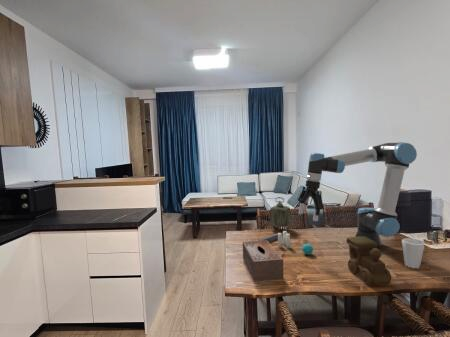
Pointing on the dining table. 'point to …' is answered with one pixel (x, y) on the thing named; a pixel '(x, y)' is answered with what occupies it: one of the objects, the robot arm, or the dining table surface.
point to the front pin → (287, 240)
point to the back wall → (270, 238)
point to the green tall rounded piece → (280, 215)
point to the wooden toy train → (367, 261)
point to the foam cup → (412, 252)
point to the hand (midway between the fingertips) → (307, 217)
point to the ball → (307, 249)
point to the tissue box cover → (262, 260)
